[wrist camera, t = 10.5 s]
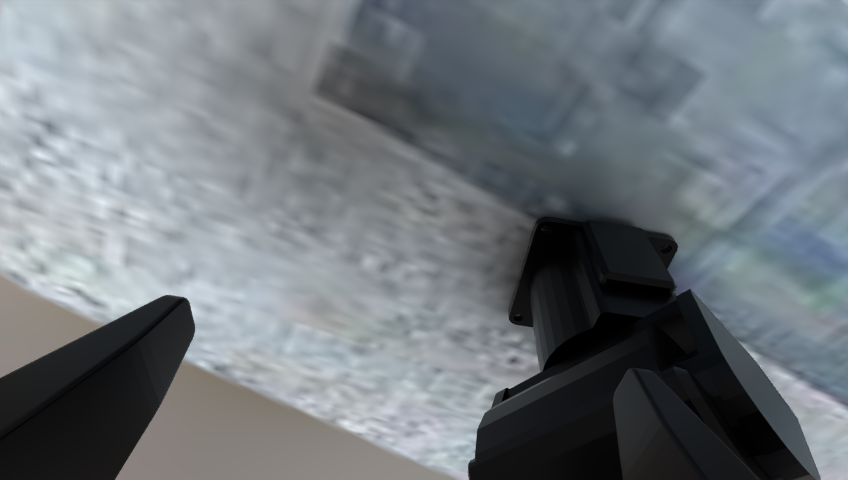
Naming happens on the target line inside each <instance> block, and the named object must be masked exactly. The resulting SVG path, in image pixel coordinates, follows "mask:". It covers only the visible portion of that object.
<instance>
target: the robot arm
mask: <svg viewBox="0 0 848 480" xmlns="http://www.w3.org/2000/svg"><path fill="white" fill-rule="evenodd" d="M544 226H550V227H551V228H550V229H549V230H547V231H543V230H541V229H542V228H543V227H544ZM666 244H669V245H668V246H667V247H666V248H664V249H660V248H661V247H662V246H663V245H666ZM677 249H678V245H677V243H676V242H675V240H674V239H673V238H672V237H671V236H668V235H663V234H656V233H649V232H644V231H643V229H641V228H637V227H631V226H624V225H617V224H611V223H604V222H598V221H591V220H588V221H586V222H578V221H571V220H564V219H558V218H551V217H543V218H540V219H539V220H538V221H537V222H536V223H535V226H534V229H533V232H532V236H531V239H530V242H529V246H528V249H527V252H526V256H525V259H524V262H523V265H522V269H521V272H520V275H519V279H518V282H517V285H516V289H515V292H514V295H513V298H512V302H511V305H510V308H509V320H510V322H512V323H513V324H516V325H522V326H528V327H533V328H534V334H535V341H536V348H537V354H538V361H539V367H540V373H539V374H537V375H535V376H533V377H531V378H530V379H528V380H526V381H524V382H522V383H520V384H518V385H516V386H515V387H513V388H511V389H508V388H505V389H504V390H502V391H500V392H498V393H496V395H495V398H494V401H493V404H492V408H491V409H490V410H489V411H487V412H486V413H485V414H484V416H483V418H482V421H481V423H480V425H479V427H478V430H477V440H476V451H475V459H473V460H471V461H470V462H469V465H468V477H469V480H821V479H820V475H819V473H818V470H817V468H816V465H815V462H814V460H813V457H812V455H811V452H810V450H809V447H808V445H807V442H806V439H805V437H804V434H803V432H802V429H801V427H800V424H799V422H798V419H797V418H796V416H795V414H794V413H793V412H792V410H791V409H790V407H789V406H788V405H787V403H786V402H785V401H784V399H783V398H782V396H781V395H780V394H779V392H778V391H777V390H776V388H775V387H774V386H773V384H772V383H771V381H770V380H769V379H768V377H767V376H766V375H765V373H764V372H763V370H762V369H761V368H760V366H759V365H758V364H757V362H756V361H755V360H754V359H753V358H752V357H751V355H750V354H749V353H748V352H747V351H746V350H745V349H744V348H743V347H742V345H741V344H740V343H739V342H738V341H737V340H736V339H735V338H734V337H733V336H732V334H731V333H730V332H729V331H728V330H727V329H726V328H725V327H724V326H723V324H722V323H721V322H720V321H719V320H718V319H717V318H716V317H715V316H714V314H713V313H712V312H711V311H710V310H709V309H708V308H707V307H706V306H705V305H704V303H703V302H702V301H701V300H700V299H699V298H698V297H697V296H696V295H695V293H694V292H693V291H692V290H691V289H689V290H687V291H685V292H683V293H682V294H680V295H678V296H676V295H675V293H674V291H675V290H676V288H677V286H676V284H675V282H674V280H673V279H672V277H671V275H670V274H669V272H668V271H667V268H668V266H669V265H670V263H671V261H672V259H673V257H674V255H675V253H676V252H677ZM517 314H520V315H521V316H515V315H517ZM194 333H195V324H194V320H193V316H192V311H191V307H190V303H189V301H188V300H187V299H186V298H184V297H179V296H173V295H165V296H162V297H160V298H158V299H156V300H154V301H152V302H150V303H148V304H146V305H144V306H142V307H140V308H138V309H136V310H134V311H132V312H130V313H128V314H126V315H124V316H122V317H120V318H118V319H116V320H114V321H112V322H110V323H108V324H106V325H104V326H102V327H100V328H99V329H96V330H94V331H93V332H90V333H89V334H86V335H85V336H83V337H81V338H79V339H77V340H75V341H73V342H71V343H69V344H67V345H65V346H63V347H61V348H59V349H57V350H55V351H53V352H51V353H49V354H47V355H45V356H43V357H41V358H39V359H37V360H35V361H33V362H31V363H29V364H27V365H25V366H23V367H21V368H19V369H17V370H15V371H13V372H11V373H9V374H7V375H5V376H3V377H1V378H0V480H115V478H116V477H117V475H118V474H119V472H120V470H121V469H122V467H123V466H124V464H125V462H126V461H127V459H128V457H129V456H130V454H131V453H132V451H133V449H134V448H135V446H136V444H137V443H138V441H139V439H140V438H141V436H142V434H143V433H144V431H145V430H146V428H147V427H148V425H149V423H150V422H151V420H152V418H153V417H154V415H155V413H156V412H157V410H158V408H159V407H160V405H161V403H162V401H163V399H164V397H165V395H166V393H167V391H168V389H169V387H170V385H171V383H172V381H173V379H174V377H175V374H176V372H177V370H178V368H179V366H180V364H181V362H182V360H183V358H184V356H185V354H186V352H187V349H188V347H189V345H190V343H191V341H192V339H193V337H194Z"/></svg>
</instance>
